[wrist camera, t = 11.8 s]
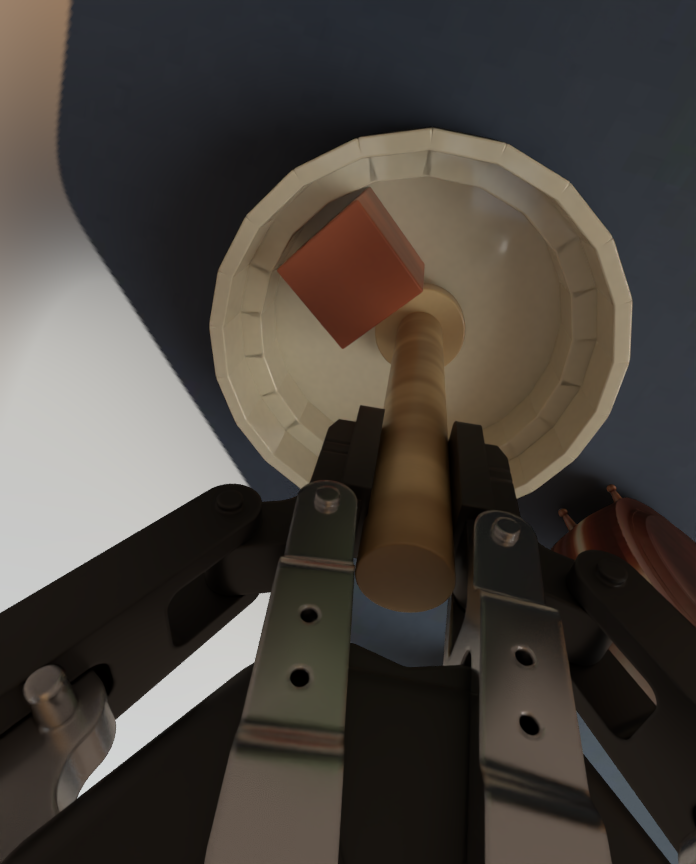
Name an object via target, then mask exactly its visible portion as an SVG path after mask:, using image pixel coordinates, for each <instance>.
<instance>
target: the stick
mask: <svg viewBox="0 0 696 864" xmlns="http://www.w3.org/2000/svg"><path fill="white" fill-rule="evenodd" d="M465 329H466V327H465V320H464V315H463V311H462V309H461V306H460V304H459V303H458V301H457V300H456V299H455V297H454V296H453V295H452V294H451V293H450V292H448V291H447V290H445V289H444V288H442V287H440V286H437V285H434V284H430V283H424V284H423V292H422V293H421V294H419V295H418V296H416V297H415V298H414V299H412V300H411V301H410V302H408V303H407V304H405V305H404V306H403V307H401V308H400V309H398V310H397V311H396V312H394V313H393V314H392V315H390V316H389V317H387V318H386V319H385V320H383V321H382V322H380V323H379V324H378V325H376V326H375V340H376V344H377V347H378V349H379V351H380V353H381V354H382V356H383V357H384V358H385V360H386V361H387V362H388V363H390V364H391V368H390V373H389V379H388V385H387V391H386V396H385V402H384V408H383V409H385V413H384V419H383V425H382V431H381V437H380V443H379V449H378V455H377V461H376V467H375V473H374V479H373V485H372V491H371V497H370V503H369V509H368V515H367V516H366V518H365V520H364V523H363V528H362V534H361V539H360V545H359V551H358V557H357V562H356V568H355V577H356V581H357V584H358V586H359V588H360V590H361V591H362V592H363V594H364V595H365V596H366V597H368V598H369V599H370V600H371V601H373V602H374V603H376V604H378V605H380V606H382V607H384V608H387V609H390V610H394V611H399V612H422V611H426V610H430V609H433V608H435V607H437V606H439V605H441V604H442V603H444V602H445V601H446V600H447V599H448V598H449V597H450V595H451V594H452V592H453V590H454V588H455V583H456V574H455V555H454V537H453V519H452V500H451V482H450V464H449V445H448V427H447V408H446V390H445V372H444V367H445V366H446V365H448V364H449V363H450V362H451V361H452V360H453V359H454V358H455V357H456V356H457V355H458V353H459V351H460V350H461V348H462V345H463V342H464V339H465Z"/></svg>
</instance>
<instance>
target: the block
mask: <svg viewBox="0 0 696 864" xmlns="http://www.w3.org/2000/svg"><path fill="white" fill-rule="evenodd" d="M424 269H425V264H424V262H423V261H422V259H421V258H420V257H419V255H418V254H417V252H416V251H415V249H414V248H413V247H412V245H411V244H410V242H409V241H408V240H407V238H406V237H405V235H404V234H403V232H402V231H401V230H400V228H399V227H398V225H397V224H396V222H395V221H394V220H393V218H392V217H391V215H390V214H389V212H388V211H387V210H386V208H385V207H384V205H383V204H382V202H381V201H380V200H379V198H378V197H377V195H376V194H375V193H374V191H373V190H372V188H371V187H367V188H366V189H365V190H364V191H363V192H362V193H361V194H359V195H358V196H357V197H356V198H355V199H354V200H353V201H352V202H350V203H349V204H348V205H347V206H346V207H345V208H344V209H343V210H341V211H340V212H339V213H338V214H337V215H336V216H335V217H334V218H332V219H331V220H330V221H329V222H328V223H327V224H326V225H325V226H324V227H322V228H321V229H320V230H319V231H318V232H317V233H316V234H315V235H313V236H312V237H311V238H310V239H309V240H308V241H307V242H306V243H304V244H303V245H302V246H301V247H300V248H299V249H298V250H297V251H296V252H295V253H294V254H293V255H292V256H290V257H289V258H288V259H287V260H286V261H285V262H284V263H283V264H282V265H281V266H280V267H279V268H278V269H277V272H278V273H279V274H280V276H281V277H282V278H283V279H284V280H285V282H286V283H287V284H288V285H289V286H290V287H291V289H292V290H293V291H294V292H295V293H296V295H297V296H298V297H299V298H300V299H301V301H302V302H303V303H304V304H305V305H306V307H307V308H308V309H309V310H310V311H311V313H312V314H313V315H314V316H315V317H316V319H317V320H318V321H319V322H320V323H321V325H322V326H323V327H324V328H325V329H326V331H327V332H328V333H329V334H330V335H331V337H332V338H333V339H334V340H335V341H336V343H337V344H338V345H339V346H340V347H341V348H342V349H344V348H346V347H347V346H349V345H350V344H351V343H353V342H354V341H355V340H357V339H358V338H360V337H361V336H362V335H364V334H365V333H367V332H368V331H369V330H371V329H372V328H373V327H375V326H376V325H378V324H379V323H380V322H382V321H383V320H385V319H386V318H387V317H389V316H390V315H392V314H393V313H394V312H396V311H397V310H398V309H400V308H401V307H403V306H404V305H405V304H407V303H408V302H410V301H411V300H412V299H414V298H415V297H416V296H418V295H419V294H421V293H422V292H423V284H424Z"/></svg>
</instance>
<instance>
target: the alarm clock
mask: <svg viewBox="0 0 696 864" xmlns="http://www.w3.org/2000/svg"><path fill="white" fill-rule="evenodd" d="M607 491H608V492H610V493H611V495H612V498H613V500H614V503H612V504H610V505H608V506H606V507H604V508H602V509H601V510H599V511H597V512H595V513H593V514H591V515H589V516H588V517H586V518H585V519H584V520H582V521H581V522H579V523H578V524H576V523H575V522H574V521H573V520H572V519H571V518H570V517H569V516H568V511H567V510H566V509H560V510H559V512H558V514H559V515H560V516H561V517H563V519H564V521H565V523H566V526H567V528H568V530H569V532H568V533H567V534H566V535H565V536H563V537H562V538H561V539H560V540H559V541H558V542H557V543H556V544H555V545H554V546H553V547H552V548H551V550H552V551H554V552H556V553H559V554H561V555H564V556H566V557H568V558H571V559H573V560H575V559H576V557H577V556H578V555H579V554H580V553H581V552H583V551H586V550H601V551H605V552H608V553H611V554H614V555H616V556H618V557H620V558H621V559H623V560H625V561H626V562H627V563H629V564H630V565H631V566H632V567H634V568H635V569H636V570H637V571H638V572H639V573H640V574H641V575H642V576H643V577H644V578H645V579H646V580H647V581H648V582H649V583H650V584H651V585H652V586H653V587H654V588H655V589H656V590H657V591H659V592H660V593H661V594H662V595H663V596H664V597H665V598H666V599H667V600H668V601H669V602H670V603H671V604H672V605H673V606H674V607H675V608H676V609H677V610H678V611H679V612H680V613H681V614H682V615H683V616H684V617H686V618H687V619H688V620H689V621H690V622H691V623H692V624H693V625H694V626H695V627H696V543H695V542H694V541H693V540H692V539H691V538H689V537H688V536H687V535H686V534H685V533H683V532H682V531H681V530H680V529H678V528H677V527H675V526H674V525H673V524H672V523H670V522H669V521H668V520H667V519H666V518H664V517H663V516H662V515H660V514H659V513H657V512H656V511H654V510H653V509H652V508H650V507H648V506H647V505H645V504H643V503H641V502H639V501H637V500H635V499H631V498H627V497H625V498H622V497H621V496H620V495H619V494H618V493H617V491H616V487H615V486H614V485H612V484H610V485H608V486H607ZM608 649H609V650H610V651H611V653H612V654H613V655H614V656H615V657H616V659H617V660H618V661H619V662H620V663H621V664H622V666H623V667H624V668H625V669H626V670H627V672H628V673H629V674H630V675H631V676H632V677H633V679H634V680H635V681H636V682H637V683H638V685H639V686H640V687H641V688H642V689H643V690H644V692H645V693H646V694H647V695H648V696H649V698H650V699H651V700H652V701H653V702H654V704H655V705H656V698H655V695H654V692H653V690H652V688H651V687H650V685H649V684H648V683H647V681H646V680H645V679H644V678H643V677H642V676H641V674H640V673H639V672H638V671H637V670H636V669H635V667H634V666H633V665H632V664H631V663H630V662H629V661H628V659H627V658H626V657H625V656H624V655H623V654H622V652H621V651H620V650H619V649H618V648H617V647H616V645H615V644H614V643H612V644H611V646H610V647H609V648H608Z"/></svg>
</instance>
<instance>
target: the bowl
mask: <svg viewBox="0 0 696 864" xmlns="http://www.w3.org/2000/svg"><path fill="white" fill-rule="evenodd" d="M367 187H371V188H372V190H373V191H374V193H375V194H376V195H377V197H378V198H379V200H380V201H381V202H382V204H383V205H384V207H385V208H386V210H387V211H388V212H389V214H390V215H391V217H392V218H393V220H394V221H395V222H396V224H397V225H398V227H399V228H400V230H401V231H402V232H403V234H404V235H405V237H406V238H407V240H408V241H409V242H410V244H411V245H412V247H413V248H414V249H415V251H416V252H417V254H418V255H419V257H420V258H421V259H422V261H423V262H424V264H425V269H424V283H430V284H434V285H437V286H440V287H442V288H444V289H445V290H447V291H448V292H450V293H451V294H452V295H453V296H454V297H455V299H456V300H457V301H458V303H459V304H460V306H461V309H462V311H463V315H464V320H465V327H466V329H465V339H464V342H463V345H462V348H461V350H460V351H459V353H458V355H457V356H456V357H455V358H454V359H453V360H452V361H451V362H450V363H449V364H448V365H446V366H445V367H444V372H445V390H446V408H447V427H448V441H449V437H450V433H451V430H452V426H453V423H454V422H455V421H459V422H465V423H471V424H477V425H481V426H482V429H483V436H484V442H485V444H491V445H497V446H498V447H499V448H500V449H501V450H502V452H503V453H504V454H505V455H506V457H507V458H508V462H509V467H510V473H511V476H512V480H513V481H512V483H513V485H514V489H515V494H516V499H518V498H520V497H522V496H524V495H527V494H529V493H531V492H533V491H535V490H536V489H537V488H539V487H540V486H541V485H543V484H544V483H545V482H547V481H548V480H549V479H551V478H552V477H553V476H554V475H556V474H557V473H558V472H560V471H561V470H562V469H564V468H565V467H566V466H567V465H569V464H570V463H571V462H573V461H574V460H575V459H576V458H577V457H578V456H579V454H580V453H581V452H582V450H583V449H584V448H585V446H586V445H587V444H588V443H589V441H590V440H591V439H592V437H593V436H594V435H595V433H596V432H597V431H598V430H599V428H600V427H601V426H602V424H603V423H604V422H605V420H606V419H607V418H608V416H609V414H610V412H611V409H612V407H613V404H614V402H615V399H616V396H617V394H618V391H619V388H620V386H621V383H622V381H623V378H624V375H625V373H626V370H627V368H628V365H629V361H630V348H631V325H632V296H631V293H630V290H629V287H628V283H627V280H626V277H625V274H624V270H623V267H622V264H621V261H620V258H619V254H618V251H617V248H616V245H615V242H614V239H613V238H612V235H611V234H610V233H609V231H608V230H607V229H606V228H605V226H604V225H603V224H602V222H601V221H600V220H599V219H598V217H597V216H596V215H595V213H594V212H593V211H592V210H591V208H590V207H589V206H588V204H587V203H586V202H585V201H584V199H583V198H582V197H581V195H580V194H579V193H578V192H577V190H576V189H575V188H574V186H573V185H572V184H571V183H570V182H569V181H568V180H566V179H564V178H563V177H561V176H560V175H558V174H556V173H555V172H553V171H551V170H550V169H548V168H547V167H545V166H543V165H542V164H540V163H538V162H537V161H535V160H534V159H532V158H530V157H529V156H527V155H525V154H524V153H522V152H521V151H519V150H517V149H516V148H514V147H513V146H511V145H509V144H507V143H504V142H501V141H498V140H495V139H492V138H487V137H483V136H478V135H473V134H468V133H463V132H459V131H454V130H449V129H444V128H440V127H435V126H433V127H432V126H429V127H422V128H414V129H406V130H399V131H391V132H383V133H376V134H370V135H366V136H362V137H359V138H355V139H353V140H351V141H349V142H347V143H345V144H343V145H341V146H339V147H336V148H334V149H332V150H330V151H328V152H326V153H324V154H322V155H320V156H318V157H316V158H314V159H312V160H310V161H308V162H306V163H304V164H302V165H300V166H298V167H296V168H294V170H291V171H290V172H289V173H288V174H287V175H286V176H285V177H284V178H283V179H282V180H281V181H280V182H279V183H278V184H277V185H276V186H275V187H274V188H273V189H272V190H271V191H270V192H269V193H268V194H267V195H266V196H265V197H264V198H263V199H262V200H261V201H260V202H259V203H258V204H257V205H256V206H255V207H254V208H253V209H252V210H251V211H250V212H249V213H248V214H247V215H246V217H245V218H244V220H243V222H242V224H241V226H240V228H239V230H238V232H237V234H236V236H235V238H234V240H233V242H232V244H231V245H230V247H229V249H228V251H227V253H226V255H225V257H224V259H223V261H222V263H221V265H220V267H219V271H218V273H217V279H216V285H215V292H214V298H213V304H212V310H211V316H210V322H209V325H210V326H209V329H210V336H211V344H212V351H213V359H214V366H215V374H216V377H217V381H218V383H219V385H220V388H221V390H222V392H223V395H224V397H225V399H226V402H227V404H228V406H229V408H230V411H231V413H232V415H233V418H234V420H235V422H236V424H237V425H238V427H239V428H240V429H241V430H242V432H243V433H244V434H245V436H246V437H247V438H248V439H249V441H250V442H251V443H252V444H253V446H254V447H255V448H256V450H257V451H258V452H259V453H260V455H261V456H262V457H263V458H264V460H266V462H268V463H269V464H270V465H271V466H273V467H274V468H275V469H277V470H278V471H279V472H280V473H282V474H283V475H284V476H285V477H287V478H288V479H289V480H291V481H292V482H293V483H294V484H296V485H297V486H298V487H299V488H302V487H303V486H305V485H306V484H308V483H310V481H311V478H312V475H313V472H314V469H315V466H316V463H317V460H318V457H319V454H320V451H321V449H322V445H323V442H324V440H325V436H326V433H327V430H328V428H329V427H330V426H331V425H332V424H333V423H335V422H336V421H337V420H338V419H343V420H349V421H355V422H356V419H357V415H358V411H359V407H360V405H364V406H370V407H376V408H382V409H383V408H384V402H385V396H386V391H387V385H388V379H389V373H390V368H391V364H390V363H388V362H387V361H386V360H385V358H384V357H383V356H382V354H381V353H380V351H379V349H378V347H377V344H376V340H375V327H373V328H372V329H371V330H369V331H368V332H367V333H365V334H364V335H362V336H361V337H360V338H358V339H357V340H355V341H354V342H353V343H351V344H350V345H349V346H347V347H346V348H344V349H342V348H341V347H340V346H339V345H338V344H337V343H336V341H335V340H334V339H333V338H332V337H331V335H330V334H329V333H328V332H327V331H326V329H325V328H324V327H323V326H322V325H321V323H320V322H319V321H318V320H317V319H316V317H315V316H314V315H313V314H312V313H311V311H310V310H309V309H308V308H307V307H306V305H305V304H304V303H303V302H302V301H301V299H300V298H299V297H298V296H297V295H296V293H295V292H294V291H293V290H292V289H291V287H290V286H289V285H288V284H287V283H286V282H285V280H284V279H283V278H282V277H281V276H280V274H279V273H278V272H277V269H278V268H279V267H280V266H281V265H282V264H283V263H284V262H285V261H286V260H287V259H288V258H289V257H290V256H292V255H293V254H294V253H295V252H296V251H297V250H298V249H299V248H300V247H301V246H302V245H303V244H304V243H306V242H307V241H308V240H309V239H310V238H311V237H312V236H313V235H315V234H316V233H317V232H318V231H319V230H320V229H321V228H322V227H324V226H325V225H326V224H327V223H328V222H329V221H330V220H331V219H332V218H334V217H335V216H336V215H337V214H338V213H339V212H340V211H341V210H343V209H344V208H345V207H346V206H347V205H348V204H349V203H350V202H352V201H353V200H354V199H355V198H356V197H357V196H358V195H359V194H361V193H362V192H363V191H364V190H365V189H366V188H367Z"/></svg>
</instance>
